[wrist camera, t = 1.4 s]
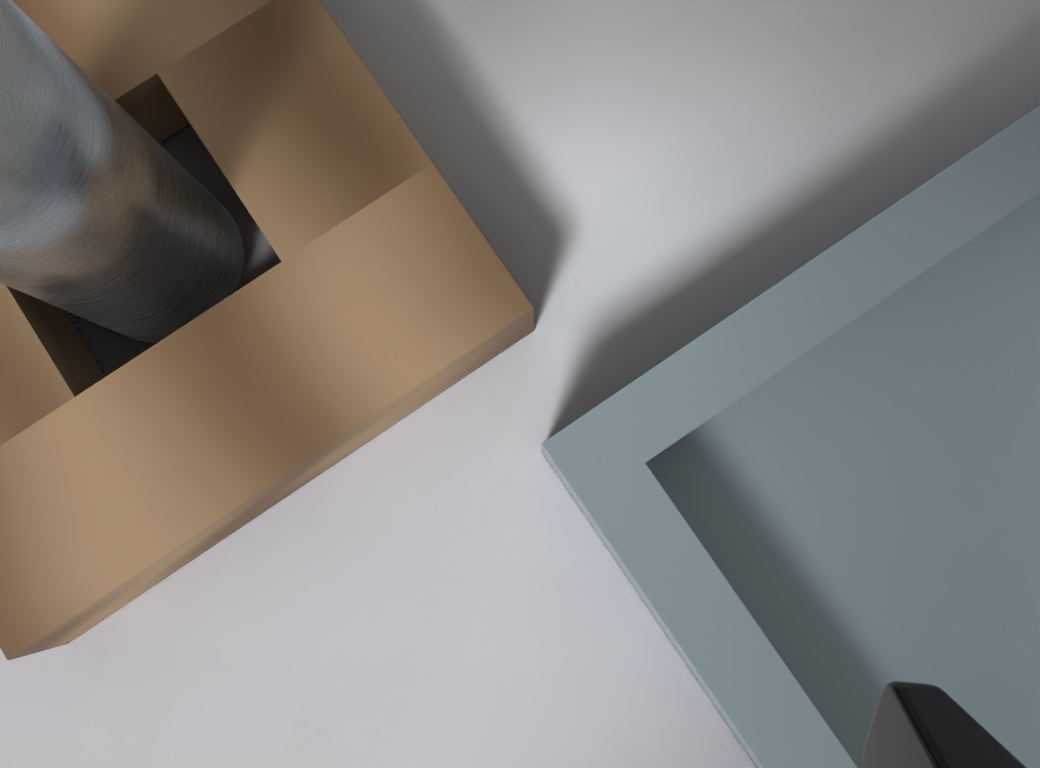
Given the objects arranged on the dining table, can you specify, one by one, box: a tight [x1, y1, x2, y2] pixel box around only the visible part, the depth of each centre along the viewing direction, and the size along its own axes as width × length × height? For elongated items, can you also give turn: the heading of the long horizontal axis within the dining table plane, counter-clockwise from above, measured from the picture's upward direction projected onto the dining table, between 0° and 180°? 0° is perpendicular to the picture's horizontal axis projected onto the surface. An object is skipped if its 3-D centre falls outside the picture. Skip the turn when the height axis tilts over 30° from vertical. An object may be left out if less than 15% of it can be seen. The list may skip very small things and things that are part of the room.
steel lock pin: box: [0, 0, 244, 343], centre depth 17 cm, size 4×4×13 cm
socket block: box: [0, 0, 534, 660], centre depth 22 cm, size 13×13×2 cm
